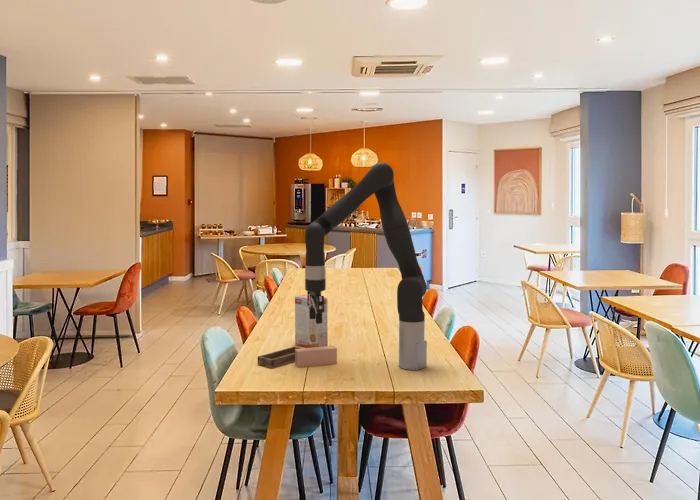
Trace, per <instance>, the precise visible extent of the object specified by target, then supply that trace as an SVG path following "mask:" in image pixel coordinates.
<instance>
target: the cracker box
mask: <svg viewBox="0 0 700 500" xmlns="http://www.w3.org/2000/svg"><path fill="white" fill-rule="evenodd" d="M319 309H320V308H319ZM294 328H295V329H294V333H295V334H294V336H295V337H294V338H295V341H294V343H295V346H299V347H302V348H313V347H325V346H329V343H328V341H329V339H328V333H329V332H328V298H327V297H324V312H323V313H322V323H321V324H317V323H316V318H315V319H310V318H309V306H307V294H300V295H295V296H294Z"/></svg>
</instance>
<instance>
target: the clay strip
mask: <svg viewBox="0 0 700 500" xmlns="http://www.w3.org/2000/svg"><path fill="white" fill-rule="evenodd" d="M300 348H301V349H295V362H294V365H295V366H296V367H297V368H305V367H314V366H316V367H317V366H323V365H324V366H325V365H336V364H338V348H337V347H336V346H335V345H328V346H325V347H313V348H307V347H300Z"/></svg>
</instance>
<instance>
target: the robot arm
mask: <svg viewBox="0 0 700 500" xmlns="http://www.w3.org/2000/svg"><path fill="white" fill-rule="evenodd" d="M394 173H395V172H394V170H393V167H392V166H391V165H389V164H388V163H386V162H378V163H374V164H373V165H372V166H371V167H370V169H369V170H368V171H367V172H366V174H365V175H364V176H363V177H362V178H361V179H360V181H359V182H358V183H357V184H356V185H354V186H353V188H351V189H350V190H349V191H348V192H347V193H345V194H344V195H343V196H341V197H340V198H339V199H338V200H337V201H336V202H334V203H333V204H332V205H331V206H329V207H328V208H327V209H326V210H325V211H324V212H323V213H322V215H320V216H318V217H317V218H316V219H314V221H312V222H311V223H310V224H309V225H307V226H306V228H305V230H304V241H305V242H304V243H305V244H304V245H305V268H304V269H305V270H304V289H305V292H306V293H307V294H306V295H307V306H309V318H310V319H315V318H316V323H317V324H321V323H322V313H323V312H324V298H325V296H324V295H322V294H321V293H322V292H324V291H325V290H326V287H327V286H326V285H327V283H326V282H327V281H326V280H327V279H326V278H327V276H326V257H325V237H326V236H327V235H328V234H330V232H331V231H333V229H335V228H336V227H338V226H339V225H341V224H342V223H343V222H344V221H345V220H347V218H349V217H350V216H352V214H353V213H354V212H355V211H356V210H357V209H358V208H359V207H360V206H361V205H362V204H363V203H364V202H365V201H366V200H367V199H369V198H370V197H371V196H372V195H373V194H374V196H375V199H376V203H377V204H378V209H379V215H380V216H379V217H380V221H381V226H382V230H383V234H384V239H385V242H386V244H387V247H388V249H389V250H390V252H391V254H392V256H393V257H394V259H395V261H396V262H397V265H398V268H399V271H400V275H401V276H400V277H401V280H400V281H399V282H398V284H397V291H396V302H397V304H396V305H397V307H396V308H397V313H398V317H399V318H398V367H399V368H401V369H404V370H413V371H419V370H422V369H424V368H426V367H427V363H428V362H427V356H428V355H427V349H428V345H427V344H428V343H427V341H426V340H425V326H426V325H425V318H426V317H425V312H424V309H423V297H424V296H425V295H426V293H427V289H428V286H427V282H426V279H425V277H424V275H423V272H422V270H421V267H420V264H419V261H418V258H417V253H416V250H415V246H414V241H413V238H412V235H411V230H410V228H409V224H408V220H407V219H406V218H407V217H406V215H405V213H404V211H403V209H402V207H401V204H400V202H399V200H398V197H397V191H396V186H395V180H394V179H395V175H394ZM319 308H320V309H319Z"/></svg>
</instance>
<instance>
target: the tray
mask: <svg viewBox="0 0 700 500" xmlns="http://www.w3.org/2000/svg"><path fill="white" fill-rule="evenodd" d="M301 348H302V347H300V346H299V347H298V346H296V345H295V346H291V347H288V348H284V349H280V350H277V351H273V352H269V353H266V354H262V355H259V356H257V365H258V366H262V367H265V368H269V369H276V368H278V367H282V366H286V365H288V364H293V363H295V349H301Z"/></svg>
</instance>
